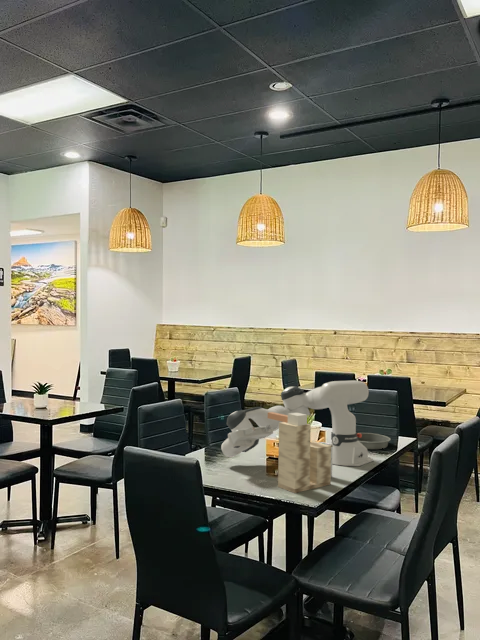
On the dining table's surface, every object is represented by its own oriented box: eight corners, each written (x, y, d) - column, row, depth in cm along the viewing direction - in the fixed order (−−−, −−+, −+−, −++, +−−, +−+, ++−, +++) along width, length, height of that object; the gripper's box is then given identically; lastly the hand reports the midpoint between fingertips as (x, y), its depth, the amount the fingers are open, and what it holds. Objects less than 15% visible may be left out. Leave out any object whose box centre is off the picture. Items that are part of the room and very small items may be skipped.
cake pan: (382, 452, 293) (382, 443, 293) (337, 446, 306) (337, 438, 306) (396, 444, 314) (396, 435, 314) (353, 438, 327) (353, 430, 327)
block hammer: (274, 417, 241) (274, 408, 241) (307, 424, 226) (307, 414, 226) (265, 418, 238) (265, 409, 238) (297, 426, 223) (298, 415, 223)
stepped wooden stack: (313, 478, 241) (314, 418, 241) (330, 484, 233) (331, 421, 233) (278, 486, 229) (279, 422, 229) (294, 493, 221) (295, 426, 221)
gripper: (264, 442, 258) (282, 431, 249) (228, 448, 246) (245, 437, 236) (260, 429, 261) (277, 418, 251) (224, 434, 248) (241, 422, 239)
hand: (262, 427), depth 244 cm, fingers open, 8 cm apart
